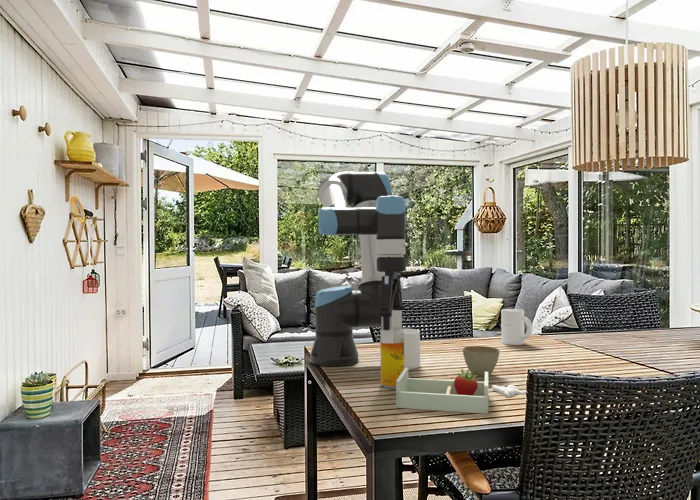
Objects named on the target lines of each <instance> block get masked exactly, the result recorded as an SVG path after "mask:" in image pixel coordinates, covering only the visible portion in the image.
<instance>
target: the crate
mask: <svg viewBox="0 0 700 500" xmlns="http://www.w3.org/2000/svg"><path fill="white" fill-rule="evenodd" d="M454 380H455V379H454ZM454 380H453V379H435V378H418V377H417V378H414V377H413V378H412V377H409V370H408V368H405V369H404V370H403V372H402V373H401V375H400V376H399V378H398V379H397V381H396V389H395V391H396V392H395V393H396V395H395V397H396V399H395V400H396V401H395V402H396V405H395V406H396V408H399V409H411V410H412V409H413V410H425V411H426V410H427V411H442V412H455V413H456V412H457V413H471V414H486V415H488V414H489V398H490V397H489V376H488V372H485V377H484V381H477V384H478V387H477V390H476V391H475V393H474V396H470V395H458V394H457V392H456V389H455V387H454Z"/></svg>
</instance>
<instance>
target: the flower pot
mask: <svg viewBox="0 0 700 500" xmlns="http://www.w3.org/2000/svg"><path fill="white" fill-rule="evenodd" d="M500 352H501V351H500V349H499V348H497V347H493V346H484V345H471V346H470V345H469V346H465V347H463V348H462V355H463V358H464V361H465V364H466V366H467V370H469V373H471V371H472V372H473V373H472V374H473V376H474V375H477V376H476V377H478V378H479V377H480V378H481V377H482V378H485V372H488V377H489V376H491V375H492V373H493V372H494V370H495V368H496V366H497V363H498V361H499V360H498V359H499V357H500Z"/></svg>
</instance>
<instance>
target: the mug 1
mask: <svg viewBox="0 0 700 500" xmlns="http://www.w3.org/2000/svg"><path fill="white" fill-rule="evenodd" d="M402 330H403V332H404V369H405V368H408V371H409V370H416V369H418V368H420V366H421V331H420V330H419V329H416V328H415V329H414V328H402Z"/></svg>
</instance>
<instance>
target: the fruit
mask: <svg viewBox="0 0 700 500" xmlns="http://www.w3.org/2000/svg"><path fill="white" fill-rule="evenodd" d="M460 370H461V371H460V372H461V373H459V372H458V373H457V376H456V377H455V378H454V387H455V389H456V392H457V394H458V395H470V396H474V393H475V391H476V390H477V387H478V384H477V382H478V381H477V380H476V377H478V376H477V375H473V374H472V373H473V372H472V371H471V372H470V370H469V369H467V370H466V372H465V371H464V369H463V368H461V369H460Z"/></svg>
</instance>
